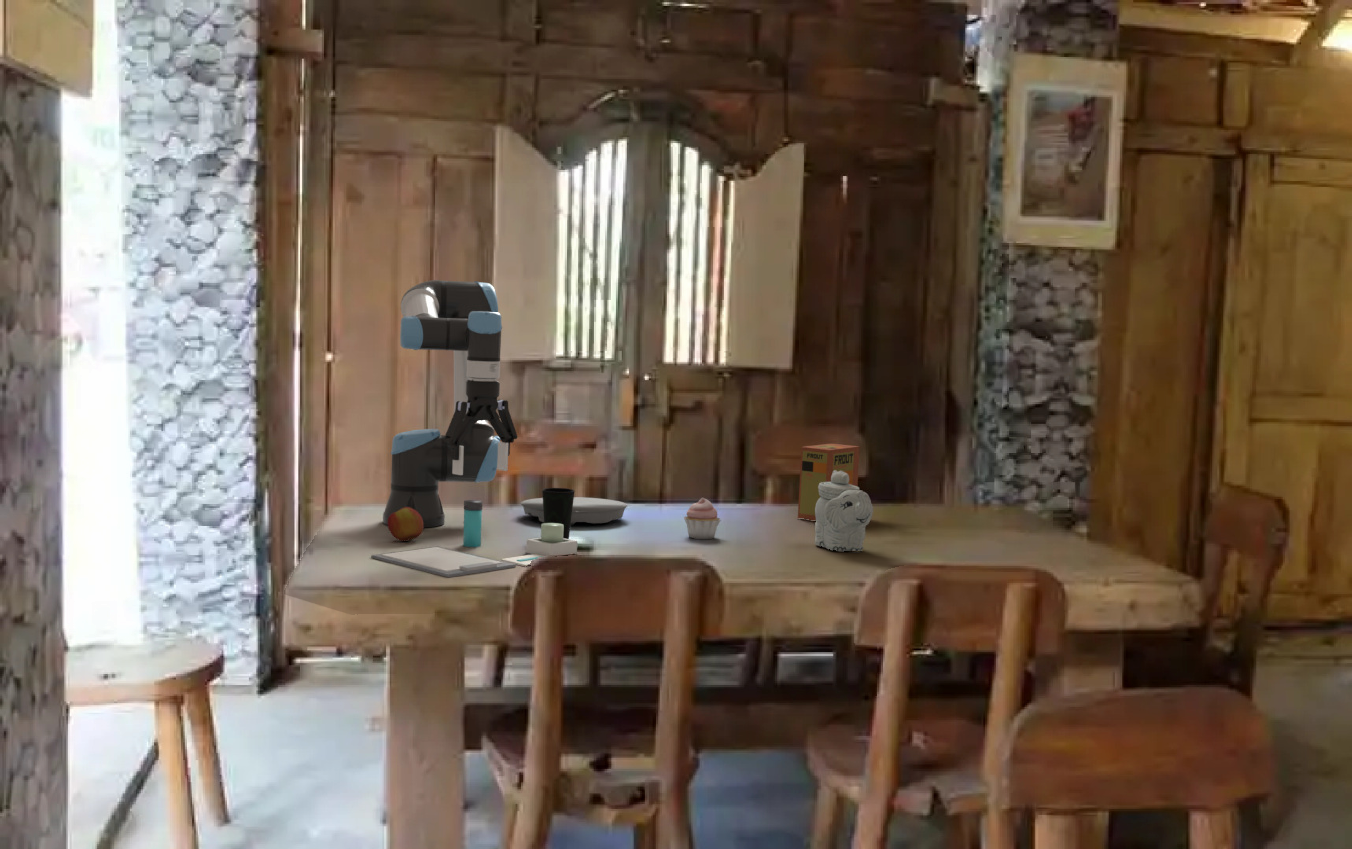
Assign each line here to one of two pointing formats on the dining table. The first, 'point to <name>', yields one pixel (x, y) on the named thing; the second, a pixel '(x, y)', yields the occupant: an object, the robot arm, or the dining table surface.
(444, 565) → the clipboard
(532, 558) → the card
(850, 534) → the white elephant jar
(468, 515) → the teal bottle
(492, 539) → the dining table surface
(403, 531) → the apple
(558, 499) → the cup
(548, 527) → the button
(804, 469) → the box
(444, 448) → the robot arm
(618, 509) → the flat disc
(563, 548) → the button box
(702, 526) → the cupcake
